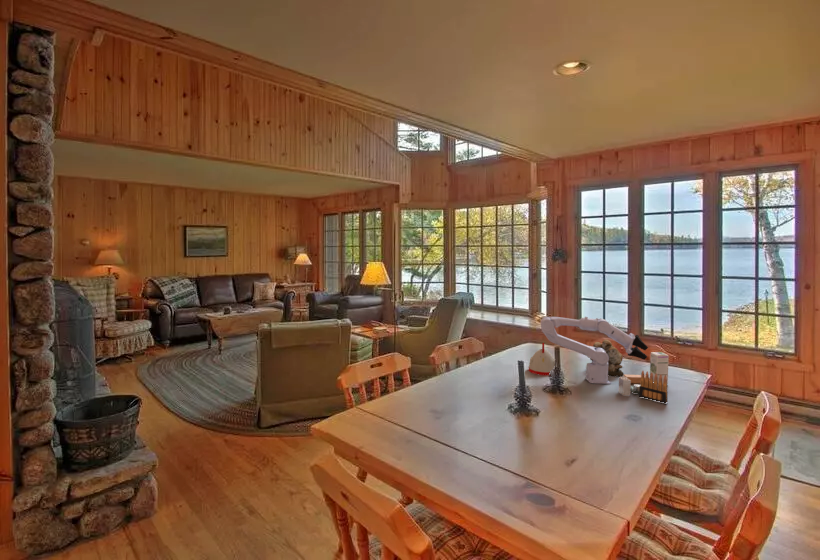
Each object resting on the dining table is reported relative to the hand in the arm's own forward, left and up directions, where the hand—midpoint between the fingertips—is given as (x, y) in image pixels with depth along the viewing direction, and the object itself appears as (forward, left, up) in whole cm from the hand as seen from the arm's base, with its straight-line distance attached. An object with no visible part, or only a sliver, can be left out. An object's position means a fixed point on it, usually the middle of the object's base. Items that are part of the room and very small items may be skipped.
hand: (646, 353), depth 195 cm
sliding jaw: (-4, -1, -14) cm, 14 cm away
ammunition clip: (-5, -20, -15) cm, 26 cm away
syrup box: (+8, +4, -15) cm, 18 cm away
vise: (-4, -6, -15) cm, 17 cm away
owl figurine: (-11, +20, -15) cm, 27 cm away
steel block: (-14, -13, -15) cm, 25 cm away
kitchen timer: (-43, +18, -16) cm, 49 cm away
